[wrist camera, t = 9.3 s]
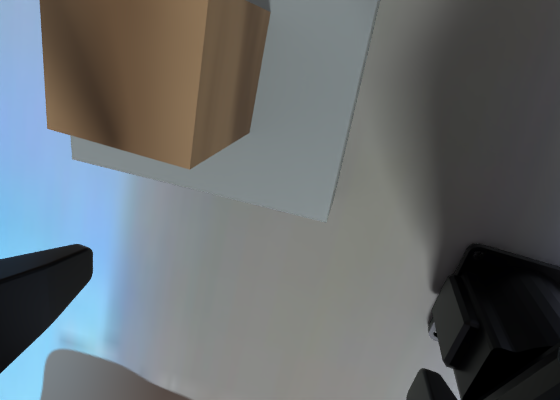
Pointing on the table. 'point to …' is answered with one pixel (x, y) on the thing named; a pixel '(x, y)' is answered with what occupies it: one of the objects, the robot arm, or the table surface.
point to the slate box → (281, 114)
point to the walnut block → (153, 73)
